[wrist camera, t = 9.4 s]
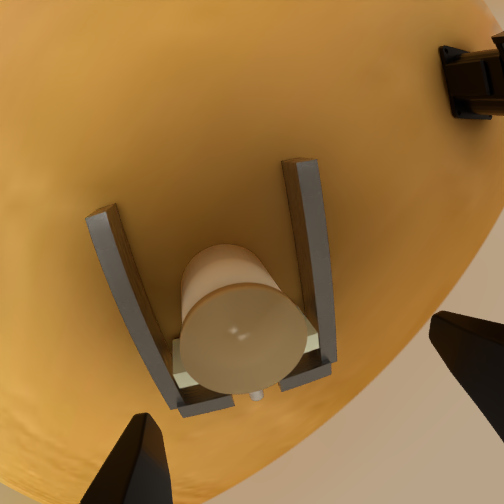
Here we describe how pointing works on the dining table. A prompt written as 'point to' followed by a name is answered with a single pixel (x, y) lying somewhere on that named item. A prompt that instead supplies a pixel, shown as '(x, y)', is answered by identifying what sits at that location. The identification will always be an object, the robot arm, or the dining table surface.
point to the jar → (237, 323)
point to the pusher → (186, 380)
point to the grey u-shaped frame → (312, 280)
